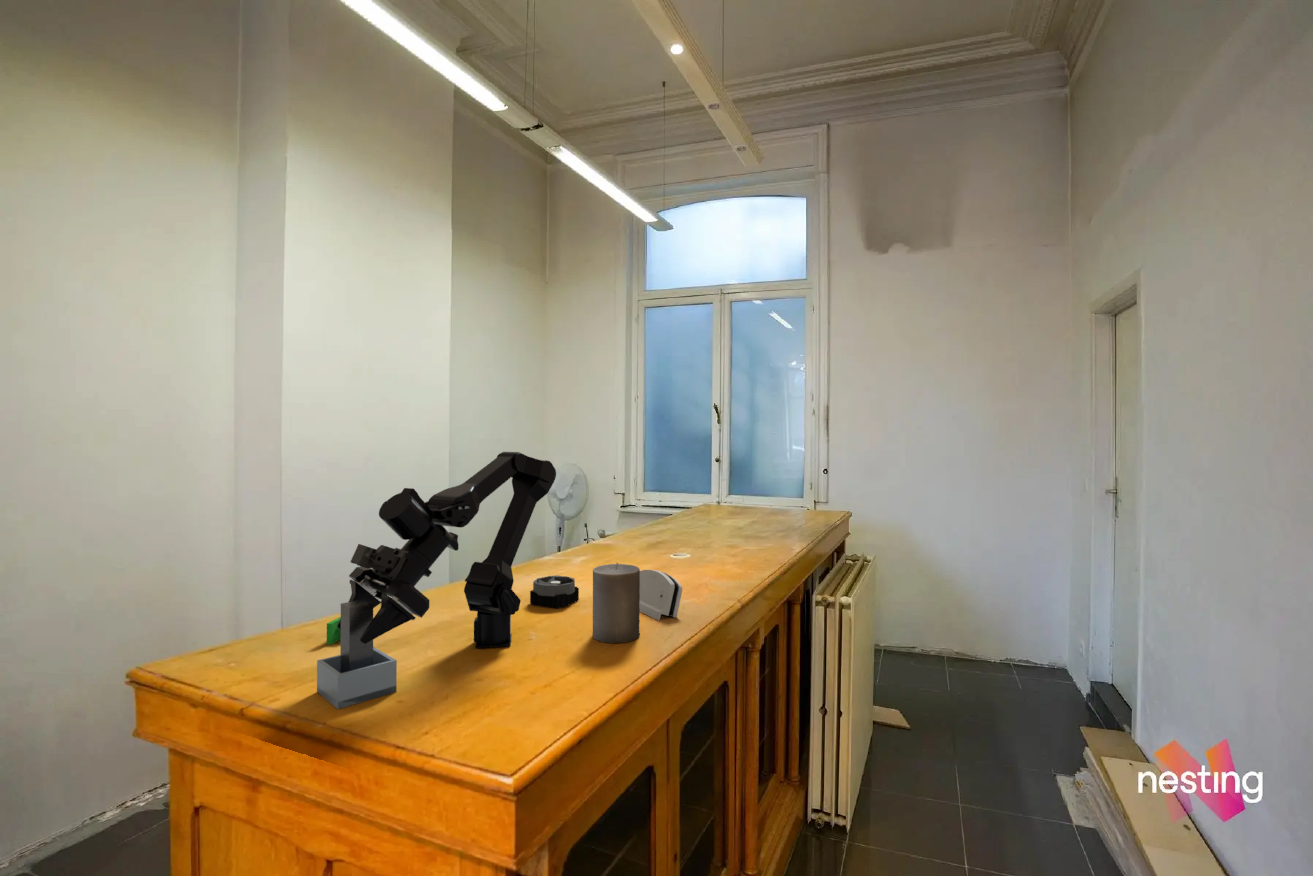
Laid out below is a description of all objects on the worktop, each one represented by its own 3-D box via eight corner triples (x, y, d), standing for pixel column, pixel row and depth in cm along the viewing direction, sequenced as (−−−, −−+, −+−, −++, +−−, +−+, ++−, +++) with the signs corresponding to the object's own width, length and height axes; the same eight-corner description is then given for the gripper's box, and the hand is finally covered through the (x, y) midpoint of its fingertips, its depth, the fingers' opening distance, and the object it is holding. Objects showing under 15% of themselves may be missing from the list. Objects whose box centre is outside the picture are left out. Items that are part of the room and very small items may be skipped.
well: (373, 676, 106) (373, 646, 106) (396, 691, 100) (396, 660, 100) (316, 691, 99) (317, 660, 99) (337, 709, 93) (337, 675, 93)
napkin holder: (621, 602, 152) (634, 562, 154) (637, 606, 155) (649, 567, 156) (658, 620, 138) (671, 576, 140) (675, 624, 141) (688, 581, 142)
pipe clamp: (343, 646, 121) (343, 624, 121) (326, 645, 121) (326, 623, 121) (373, 628, 131) (373, 608, 131) (357, 628, 132) (357, 607, 132)
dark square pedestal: (366, 676, 103) (366, 597, 103) (379, 685, 100) (379, 603, 99) (334, 685, 99) (334, 603, 99) (346, 694, 96) (346, 610, 96)
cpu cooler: (561, 586, 146) (524, 582, 149) (561, 611, 146) (524, 606, 150) (583, 577, 155) (548, 573, 159) (583, 600, 155) (548, 595, 159)
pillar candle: (649, 634, 129) (649, 561, 129) (618, 647, 121) (619, 569, 121) (612, 625, 135) (613, 555, 134) (581, 637, 127) (582, 563, 127)
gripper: (361, 519, 109) (290, 594, 101) (410, 531, 96) (333, 619, 88) (405, 558, 115) (342, 632, 107) (457, 575, 102) (389, 660, 94)
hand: (350, 635), depth 99 cm, fingers open, 9 cm apart
